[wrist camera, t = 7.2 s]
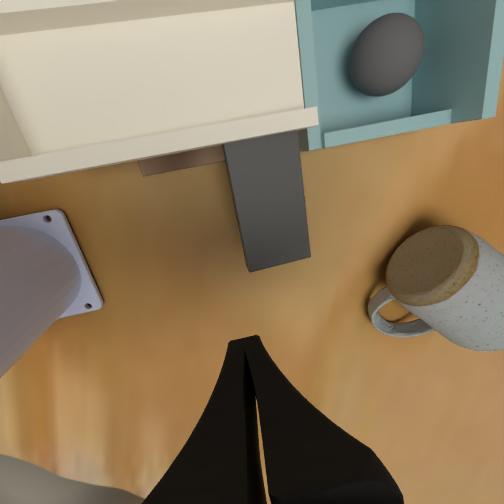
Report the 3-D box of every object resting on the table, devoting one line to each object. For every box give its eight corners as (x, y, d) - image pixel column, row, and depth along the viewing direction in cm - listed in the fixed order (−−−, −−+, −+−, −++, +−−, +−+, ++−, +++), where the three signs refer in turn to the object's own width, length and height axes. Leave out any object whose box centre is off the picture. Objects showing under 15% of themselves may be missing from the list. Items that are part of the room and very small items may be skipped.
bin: (292, 151, 19) (325, 149, 14) (275, 4, 16) (309, -78, 11) (415, 127, 20) (495, 116, 14) (421, -19, 17) (526, -107, 11)
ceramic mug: (418, 209, 22) (514, 235, 15) (475, 254, 25) (581, 295, 17) (341, 305, 25) (392, 367, 18) (400, 338, 27) (466, 404, 20)
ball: (437, 81, 14) (403, 94, 18) (443, -13, 13) (405, 22, 17) (361, 96, 15) (343, 106, 19) (359, 8, 13) (340, 38, 17)
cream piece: (93, 305, 16) (67, 342, 13) (-35, 27, 11) (-131, -29, 8) (311, 250, 18) (338, 270, 14) (284, -8, 13) (316, -65, 10)
